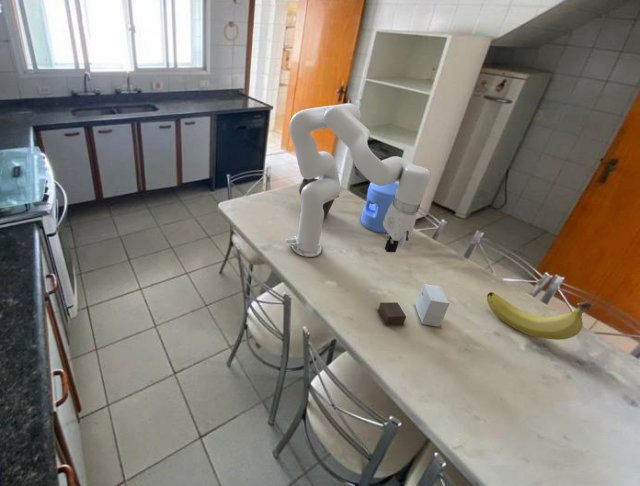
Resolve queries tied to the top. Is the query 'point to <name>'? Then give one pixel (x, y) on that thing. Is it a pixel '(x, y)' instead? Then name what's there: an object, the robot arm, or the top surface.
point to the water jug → (378, 206)
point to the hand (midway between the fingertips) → (389, 250)
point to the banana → (539, 319)
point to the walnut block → (391, 313)
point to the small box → (432, 305)
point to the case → (326, 205)
